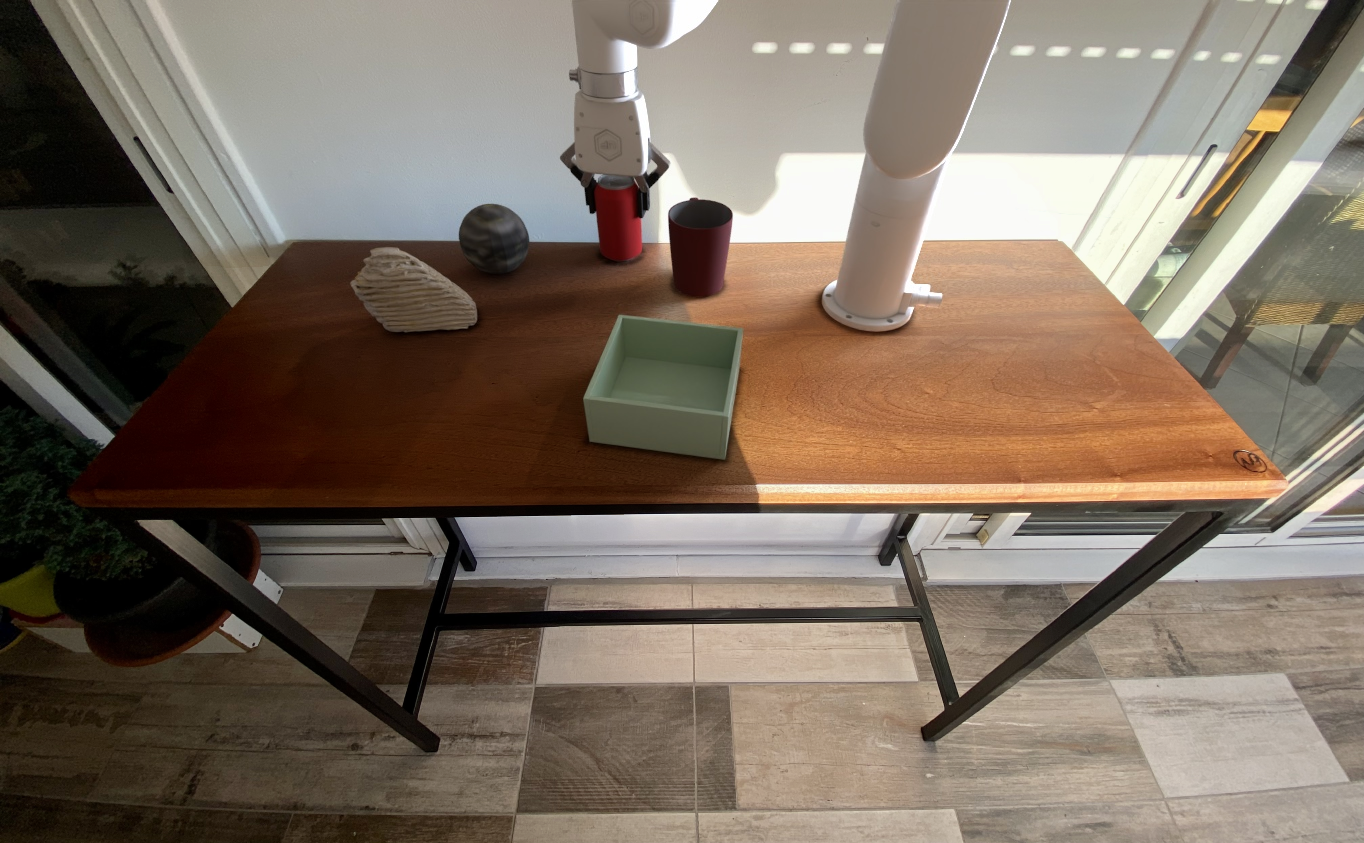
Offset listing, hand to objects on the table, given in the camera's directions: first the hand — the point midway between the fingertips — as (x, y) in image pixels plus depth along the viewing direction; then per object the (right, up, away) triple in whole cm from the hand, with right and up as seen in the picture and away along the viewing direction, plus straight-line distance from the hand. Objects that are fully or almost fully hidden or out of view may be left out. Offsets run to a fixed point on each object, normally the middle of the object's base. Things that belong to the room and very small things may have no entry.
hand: (618, 211), depth 90 cm
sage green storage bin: (+8, -30, -20) cm, 37 cm away
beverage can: (0, -5, +5) cm, 7 cm away
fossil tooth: (-26, -18, -8) cm, 33 cm away
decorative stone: (-18, -9, +2) cm, 20 cm away
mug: (+12, -10, 0) cm, 16 cm away
